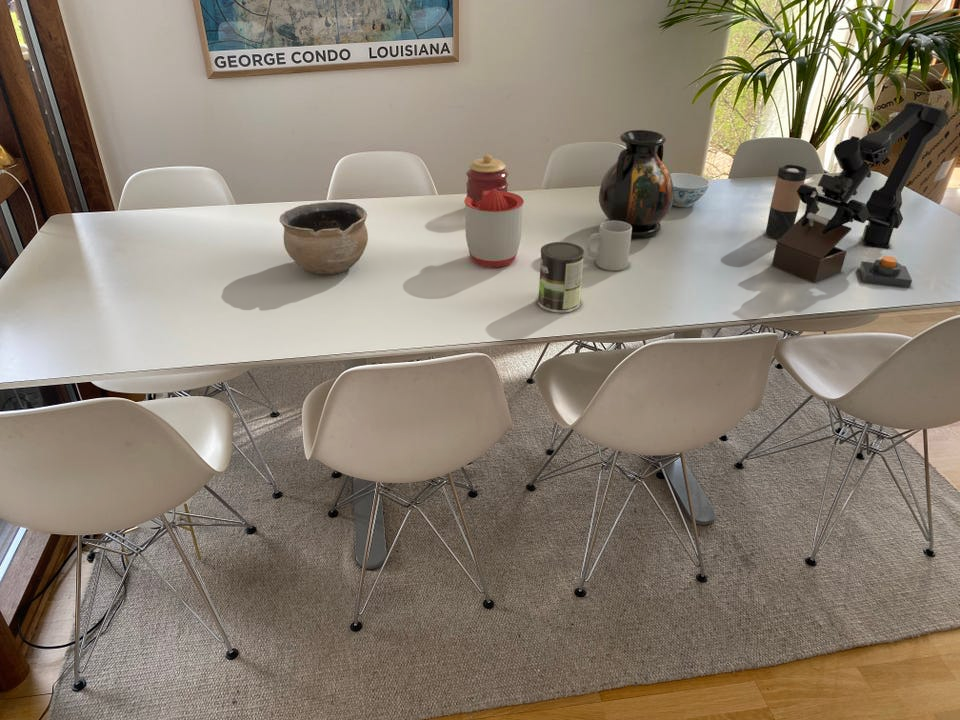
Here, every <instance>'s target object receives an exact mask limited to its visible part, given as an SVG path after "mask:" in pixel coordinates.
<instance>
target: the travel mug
mask: <svg viewBox="0 0 960 720" xmlns="http://www.w3.org/2000/svg"><path fill="white" fill-rule="evenodd" d="M807 173H808V170H807V168H806V167H803V166H800V165H795V164H785V165H784V166H782V167H781V166H779V167H778V172H777V176H776V180H775V185H774V188H773V189H774V190H773V193H772V197H771V203H770V206H769V212H768V217H767V223H766V229H765V235H766V237H768V238H771V239H774V240H779V239H780V238H781V237H782V236H783V235H784V234H785V233H786V232H787V231H788V230H789V229H790V228H791V227H792V226H793V225H794V224H795V223H796V219H797V216H798V212H799V208H800V205H801V199H800V197H799V195H798V193H797V189H798V188H799V187H800V186H801V185H803V184H805V182H806V176H807Z"/></svg>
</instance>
